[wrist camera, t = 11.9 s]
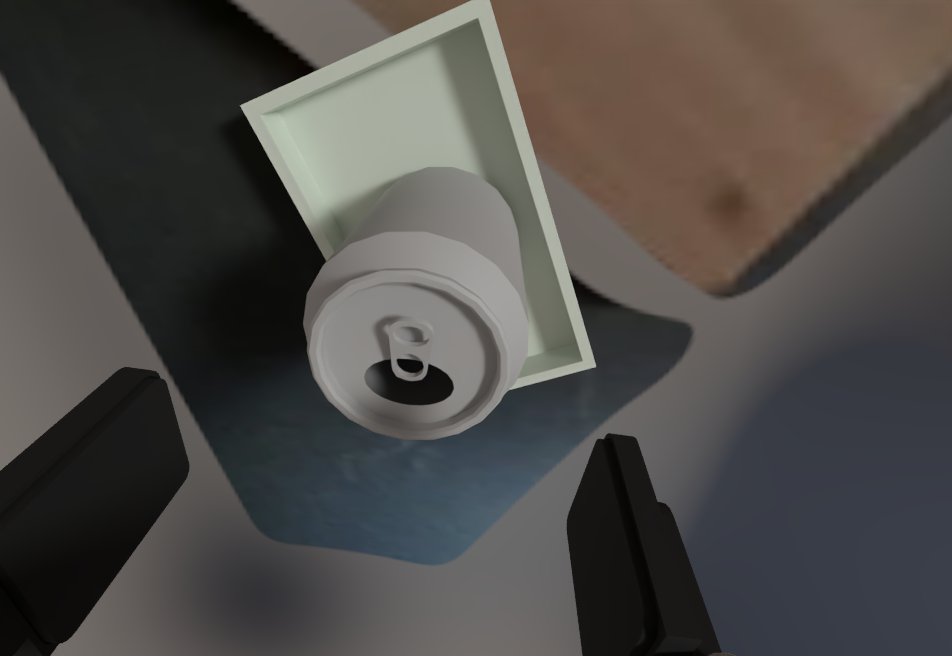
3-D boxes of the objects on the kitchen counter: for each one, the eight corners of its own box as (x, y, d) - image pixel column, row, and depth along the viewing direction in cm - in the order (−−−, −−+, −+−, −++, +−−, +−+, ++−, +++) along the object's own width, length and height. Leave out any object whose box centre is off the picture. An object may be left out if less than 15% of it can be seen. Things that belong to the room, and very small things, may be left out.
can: (372, 290, 26) (290, 444, 16) (376, 151, 22) (272, 231, 12) (504, 309, 26) (509, 472, 16) (530, 174, 23) (558, 273, 12)
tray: (265, 101, 22) (239, 105, 20) (488, 0, 20) (487, -7, 18) (418, 390, 30) (412, 415, 28) (588, 343, 28) (596, 366, 26)
